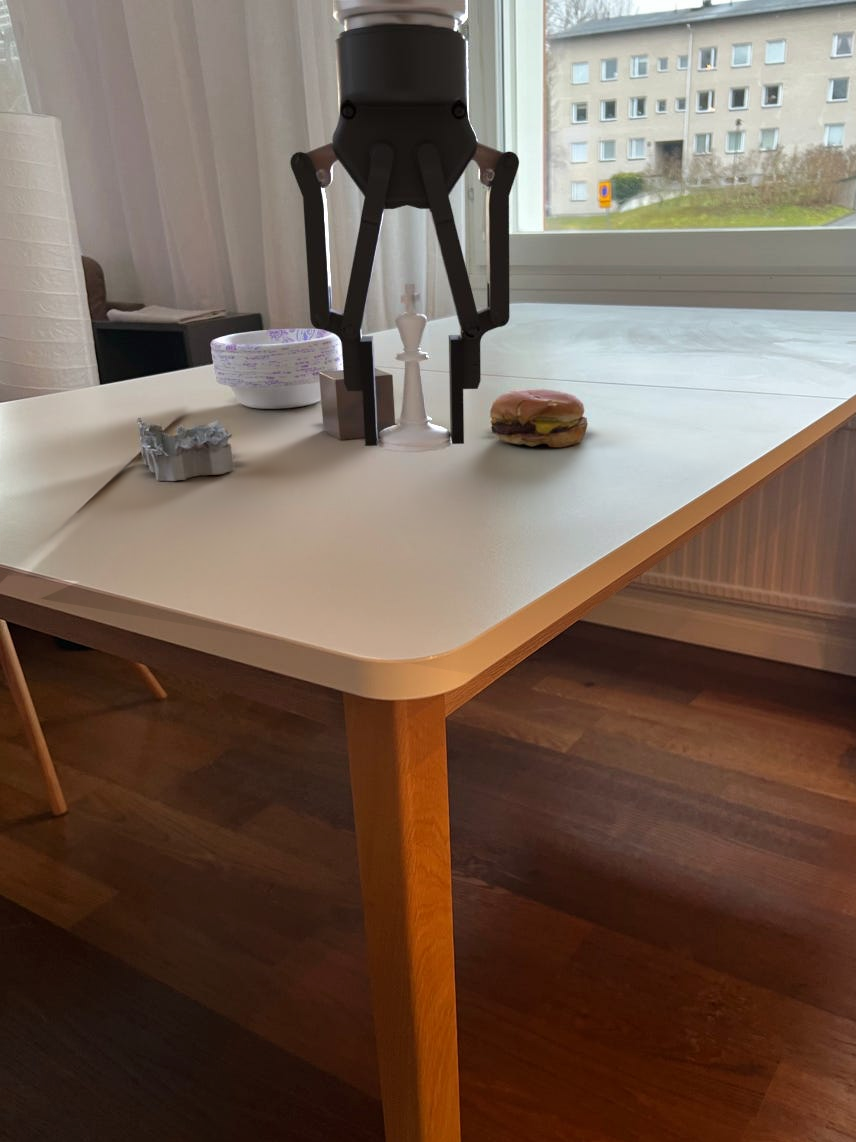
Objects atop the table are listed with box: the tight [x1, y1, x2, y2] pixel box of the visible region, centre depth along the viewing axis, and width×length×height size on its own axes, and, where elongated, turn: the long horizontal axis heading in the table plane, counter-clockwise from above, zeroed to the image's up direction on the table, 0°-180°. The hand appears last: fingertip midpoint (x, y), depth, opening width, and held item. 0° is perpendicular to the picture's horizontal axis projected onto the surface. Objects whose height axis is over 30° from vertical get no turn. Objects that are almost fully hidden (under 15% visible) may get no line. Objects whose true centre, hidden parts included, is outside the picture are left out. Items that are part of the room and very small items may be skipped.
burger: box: [489, 388, 588, 448], centre depth 97 cm, size 10×9×5 cm
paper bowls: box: [210, 328, 343, 410], centre depth 119 cm, size 15×15×8 cm
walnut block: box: [319, 367, 396, 441], centre depth 102 cm, size 6×6×6 cm
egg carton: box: [136, 417, 235, 482], centre depth 90 cm, size 11×8×4 cm
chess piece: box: [377, 283, 453, 453], centre depth 64 cm, size 5×5×10 cm
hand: (414, 439), depth 65 cm, fingers closed on chess piece, 5 cm apart
